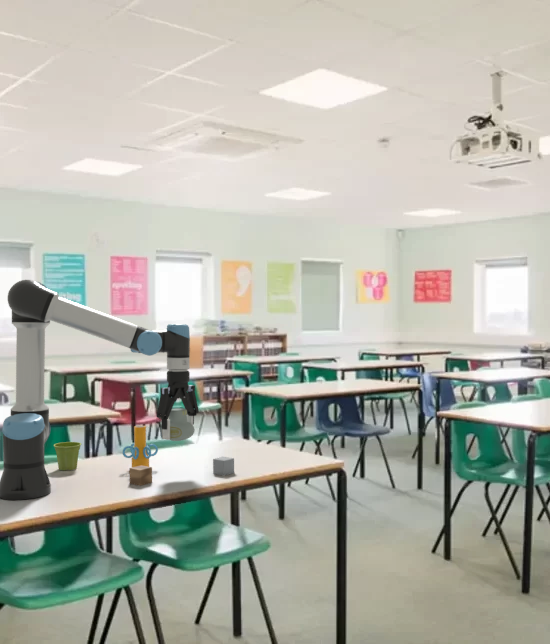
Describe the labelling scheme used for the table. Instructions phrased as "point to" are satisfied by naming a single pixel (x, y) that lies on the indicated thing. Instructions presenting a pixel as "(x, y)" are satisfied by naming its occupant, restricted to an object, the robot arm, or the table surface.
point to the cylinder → (140, 448)
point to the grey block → (223, 466)
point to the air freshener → (179, 425)
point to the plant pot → (67, 455)
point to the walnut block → (140, 475)
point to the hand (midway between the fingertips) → (177, 437)
